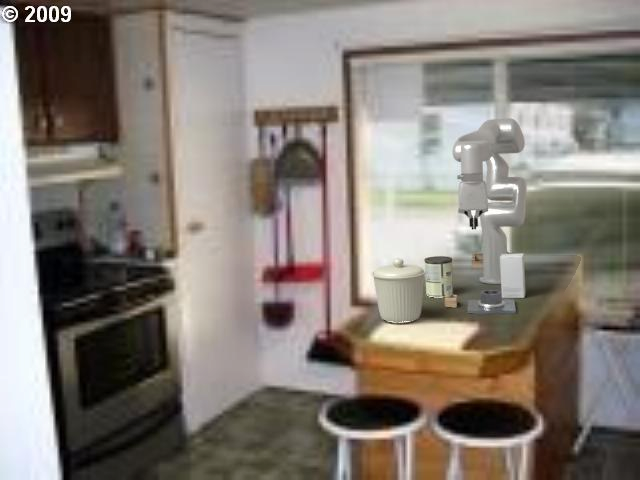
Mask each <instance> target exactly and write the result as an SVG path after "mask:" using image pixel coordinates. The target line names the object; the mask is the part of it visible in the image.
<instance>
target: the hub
mask: <svg viewBox="0 0 640 480" xmlns="http://www.w3.org/2000/svg"><path fill="white" fill-rule="evenodd" d="M468 313H475V314H474V315H476V314H477V313H478V314H479V315H480V314H485V315H487V314H488V315H489V314H491V315H492V314H495V315H496V314H505V315H506V314H509V315H510V314H511V315H512V314H517V309H516V303H515V298H510V299H502V303H501V304H496V305H486V304H482V303H481V299H468V300H467V314H468ZM478 314H477V315H478Z"/></svg>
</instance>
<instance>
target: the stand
mask: <svg viewBox="0 0 640 480" xmlns="http://www.w3.org/2000/svg"><path fill="white" fill-rule="evenodd" d="M448 294H449V295H446V296H445V298H444V307H445V306H446V307H452V308H457V307H458V295H457V294H454V292H453V293H448Z"/></svg>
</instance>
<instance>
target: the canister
mask: <svg viewBox="0 0 640 480" xmlns="http://www.w3.org/2000/svg"><path fill="white" fill-rule="evenodd" d="M404 262H405V261H404V259H402V258H398V257H397V258H394V259H393V260H392V264H389V265H383V266H380V267H378V268H376V269H375V270H373V271H372V272H371V276H372V277H373V281H374V287H375V288H374V289H375V294H376V295H375V296H376V301H377V307H378V311H379V315H380V318H381V319H382V320H383V319H384V320H386V321H393V322H402V321H403V322H404V321H412V320H416V319H417V320H418V319H419V318H420V316H421V314H422V306H423V295H424V294H423V293H424V283H425V282H424V281H425V279H424V278H425V274H426V271H425V268H422V267H421V266H418V265H414V264H404ZM384 320H383V321H384ZM417 320H416V321H417ZM386 321H385V322H386Z"/></svg>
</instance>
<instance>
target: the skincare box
mask: <svg viewBox="0 0 640 480" xmlns="http://www.w3.org/2000/svg"><path fill="white" fill-rule="evenodd" d="M500 269H501V284H500V287H501V291H502V299H524V298H525V296H526V275H525V274H526V273H525V272H526V271H525V253H516V254H502V255H501V256H500Z"/></svg>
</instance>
